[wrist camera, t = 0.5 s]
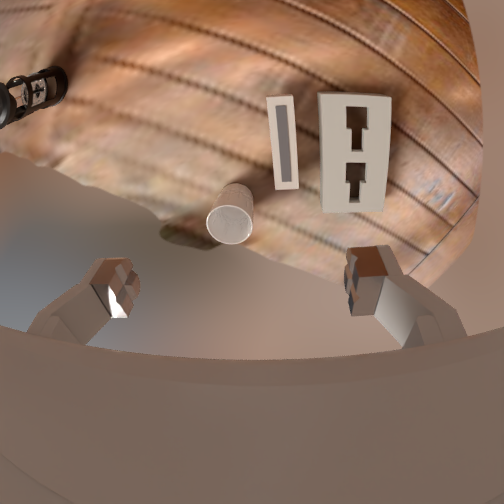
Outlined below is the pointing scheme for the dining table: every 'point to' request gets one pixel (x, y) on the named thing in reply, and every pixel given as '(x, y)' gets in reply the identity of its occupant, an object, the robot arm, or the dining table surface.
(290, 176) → the cream rectangular block
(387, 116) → the mounting board
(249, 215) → the white cup
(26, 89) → the french press
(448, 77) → the dining table surface
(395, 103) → the dining table surface
